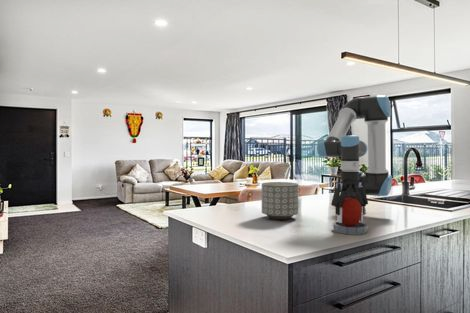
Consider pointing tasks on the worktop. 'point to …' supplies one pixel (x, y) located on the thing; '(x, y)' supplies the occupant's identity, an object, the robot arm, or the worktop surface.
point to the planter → (280, 200)
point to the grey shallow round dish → (350, 228)
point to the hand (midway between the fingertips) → (349, 221)
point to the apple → (351, 212)
